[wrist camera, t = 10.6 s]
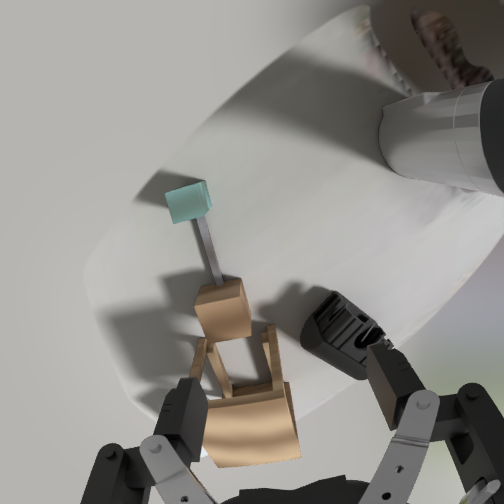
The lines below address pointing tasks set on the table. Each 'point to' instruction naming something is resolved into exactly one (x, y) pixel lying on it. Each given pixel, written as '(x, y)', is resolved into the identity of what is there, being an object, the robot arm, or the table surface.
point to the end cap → (342, 335)
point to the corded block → (222, 293)
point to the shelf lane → (249, 413)
